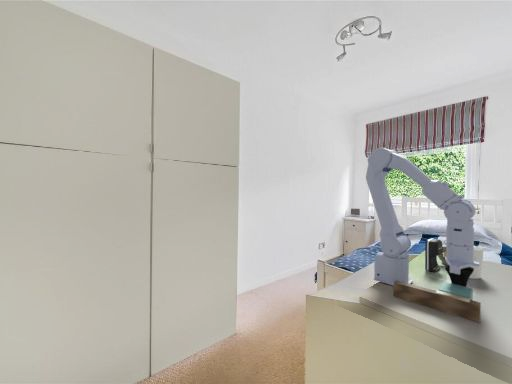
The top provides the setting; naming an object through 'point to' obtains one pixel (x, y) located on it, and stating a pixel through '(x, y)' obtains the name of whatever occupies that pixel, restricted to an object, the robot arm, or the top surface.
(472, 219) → the robot arm
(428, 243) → the battery charger
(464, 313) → the walnut board
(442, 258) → the pocket watch
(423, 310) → the top surface
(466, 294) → the teal block
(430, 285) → the top surface
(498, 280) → the top surface
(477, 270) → the white cup
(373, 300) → the top surface
